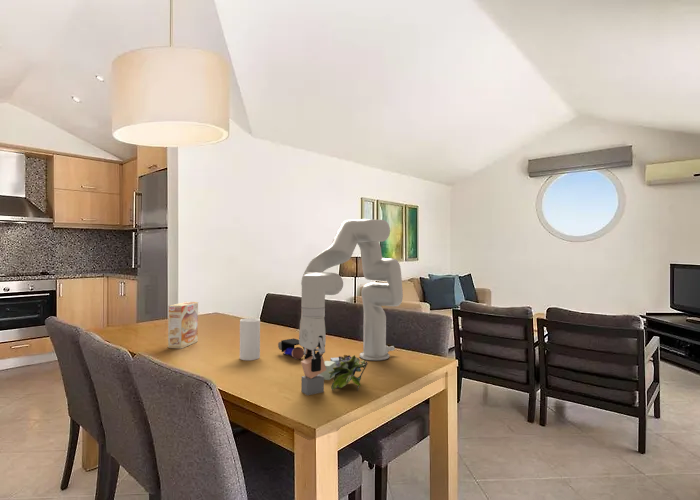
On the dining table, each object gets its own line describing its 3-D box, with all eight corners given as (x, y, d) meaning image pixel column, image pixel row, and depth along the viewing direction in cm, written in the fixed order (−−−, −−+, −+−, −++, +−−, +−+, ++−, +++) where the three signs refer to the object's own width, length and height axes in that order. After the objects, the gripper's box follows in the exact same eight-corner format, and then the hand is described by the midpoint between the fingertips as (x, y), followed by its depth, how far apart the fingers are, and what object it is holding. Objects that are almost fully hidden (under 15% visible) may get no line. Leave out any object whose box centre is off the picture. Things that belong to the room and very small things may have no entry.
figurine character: (277, 357, 185) (293, 361, 173) (276, 339, 186) (292, 341, 174) (291, 355, 189) (308, 358, 177) (290, 337, 190) (307, 339, 178)
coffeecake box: (181, 348, 193) (182, 305, 193) (167, 348, 194) (167, 305, 194) (198, 341, 208) (198, 301, 208) (185, 341, 209) (185, 301, 209)
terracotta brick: (320, 367, 141) (316, 353, 140) (326, 370, 138) (322, 356, 137) (304, 375, 138) (300, 361, 137) (310, 378, 134) (306, 364, 133)
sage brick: (325, 374, 156) (325, 360, 156) (335, 375, 155) (335, 361, 155) (318, 378, 151) (318, 364, 151) (328, 380, 149) (329, 366, 149)
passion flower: (343, 401, 146) (356, 364, 152) (367, 404, 137) (380, 365, 143) (317, 385, 140) (331, 348, 147) (340, 388, 131) (355, 347, 138)
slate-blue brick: (345, 370, 162) (345, 357, 162) (348, 373, 158) (348, 359, 158) (330, 371, 161) (330, 357, 160) (332, 374, 157) (332, 360, 157)
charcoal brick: (317, 388, 140) (317, 373, 140) (323, 392, 137) (323, 376, 137) (301, 392, 137) (301, 376, 137) (307, 395, 134) (307, 379, 134)
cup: (263, 356, 180) (264, 318, 180) (251, 361, 173) (251, 321, 173) (248, 354, 184) (248, 317, 184) (235, 358, 176) (235, 320, 176)
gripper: (291, 310, 142) (290, 365, 142) (315, 317, 128) (314, 377, 128) (311, 308, 146) (310, 361, 146) (336, 315, 132) (336, 374, 132)
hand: (312, 368), depth 137 cm, fingers closed on terracotta brick, 4 cm apart
